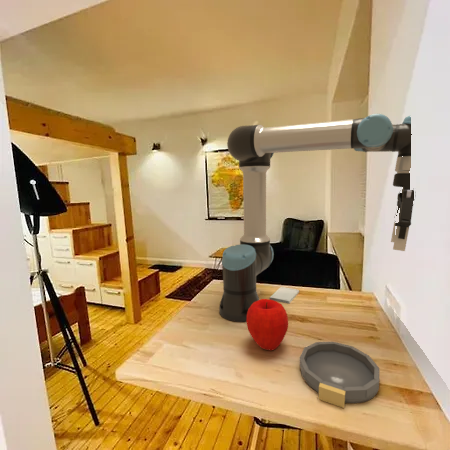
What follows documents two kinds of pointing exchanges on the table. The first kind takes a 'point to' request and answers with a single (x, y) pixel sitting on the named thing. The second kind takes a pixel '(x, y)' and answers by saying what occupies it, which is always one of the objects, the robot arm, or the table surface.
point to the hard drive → (284, 295)
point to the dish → (339, 373)
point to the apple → (267, 323)
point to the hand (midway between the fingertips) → (397, 246)
